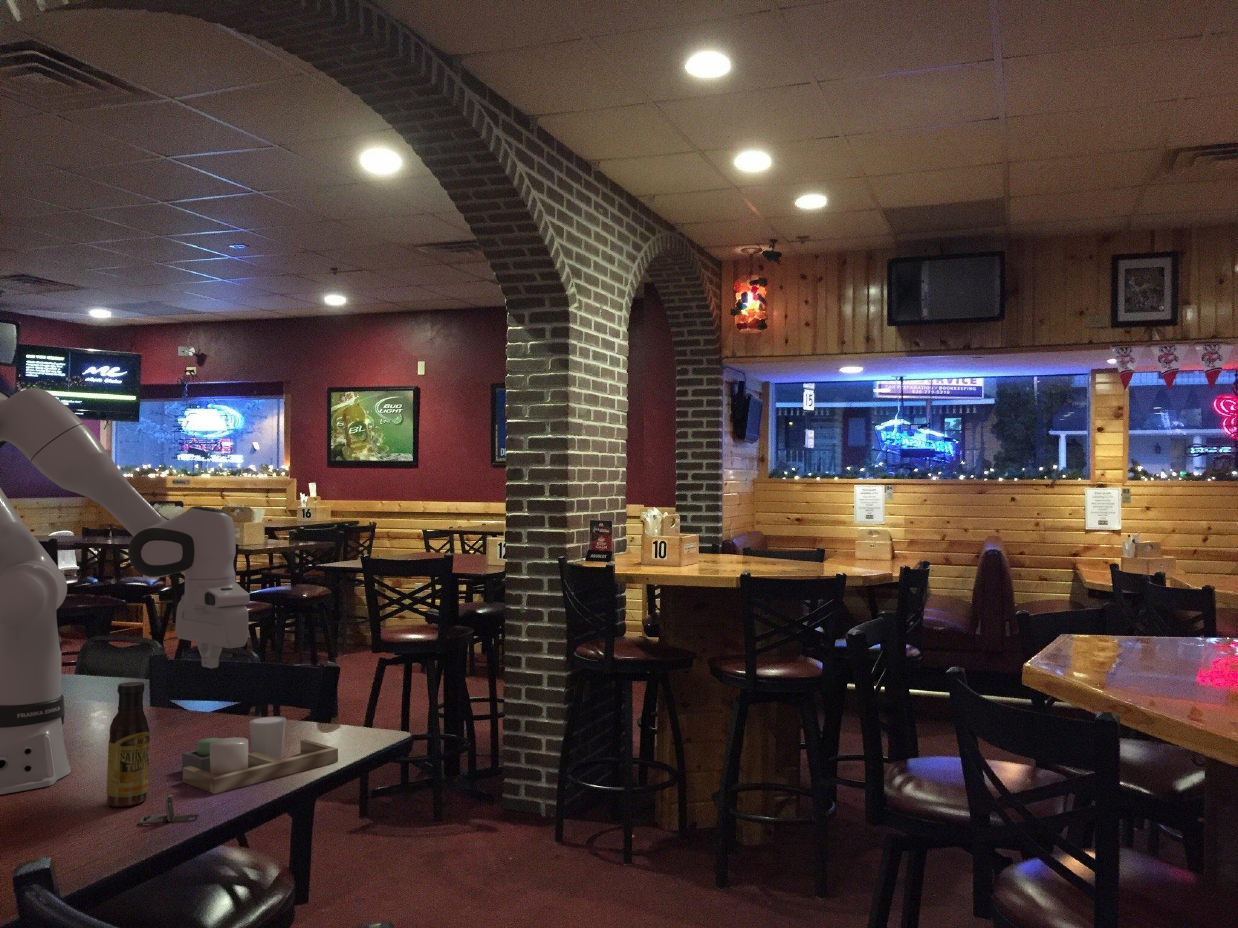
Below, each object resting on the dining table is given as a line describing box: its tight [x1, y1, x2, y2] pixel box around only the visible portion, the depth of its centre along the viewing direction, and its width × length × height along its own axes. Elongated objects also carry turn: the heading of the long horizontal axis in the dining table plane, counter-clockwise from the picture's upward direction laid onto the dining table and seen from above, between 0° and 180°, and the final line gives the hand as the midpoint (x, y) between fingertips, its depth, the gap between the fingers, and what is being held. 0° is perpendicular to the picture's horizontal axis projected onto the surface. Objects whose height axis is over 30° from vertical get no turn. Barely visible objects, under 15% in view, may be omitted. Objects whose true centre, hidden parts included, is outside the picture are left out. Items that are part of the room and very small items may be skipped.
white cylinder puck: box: [210, 736, 249, 776], centre depth 179 cm, size 6×6×7 cm
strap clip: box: [138, 794, 200, 826], centre depth 159 cm, size 8×3×4 cm, turn 105°
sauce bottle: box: [106, 681, 151, 808], centre depth 168 cm, size 7×6×20 cm
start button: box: [196, 737, 222, 757], centre depth 187 cm, size 4×4×3 cm
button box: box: [181, 749, 210, 773], centre depth 187 cm, size 7×7×3 cm
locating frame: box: [182, 738, 339, 795], centre depth 185 cm, size 25×11×2 cm, turn 141°
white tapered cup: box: [249, 715, 287, 758], centre depth 196 cm, size 7×7×7 cm
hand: (210, 666), depth 187 cm, fingers closed
